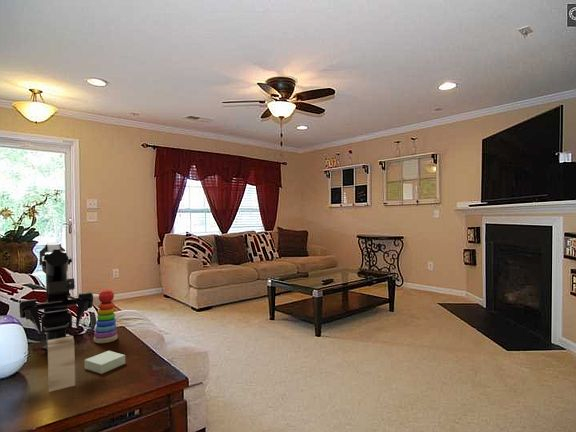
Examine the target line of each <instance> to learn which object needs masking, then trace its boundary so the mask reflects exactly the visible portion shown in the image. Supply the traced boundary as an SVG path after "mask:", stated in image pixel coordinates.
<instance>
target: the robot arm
mask: <svg viewBox="0 0 576 432" xmlns="http://www.w3.org/2000/svg"><path fill="white" fill-rule="evenodd" d="M71 263H73V259H72V257H71V256H70V254H68V252H67V251H66V249H65V248H63V247H62V243H60V242H47V243H45V244H44V247H43V248H42V249H41V250H40V251H39V266H41V271H42V273H44V274H45V287H46V288H45V290H46V292H45V295H46V301H45V302H38V303H37V299H36V298H34V299H25V300H21V301H20V302H19V303H18V304H19V305H18V306H19V318H20V319H21V318H22V319H25V320H30V321H31V323H32V324H33V325H34V327H35V329H36V330H37V333H38V335H39V334H46V345H42V346H41V349H44V350H47V351H48V340H52V339H57V338H63V337H67V332H66V331H67V329H68V330H69V329H71V328H72V327H73V314H72V313H71V311H70V310H69V309H68V307H72V306H77V308H76V309H77V310H76V319H75V321H76V322H75V325H76V326H75V328H79V326H80V321H81V318H82V317H83V315H84V312H86V311H89V309H91V308H93V304H94V295H93V293H92V292H91V291H89V292H82V293H81V292H80V293H78V296H77V297H75V298H70V299H69V297H70V291H73V290H75V288H76V287H75V278H68V270H69V265H70V264H71ZM42 310H43V314H42V315H41V321H40V315H39V311H42Z"/></svg>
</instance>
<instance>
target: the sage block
mask: <svg viewBox="0 0 576 432" xmlns="http://www.w3.org/2000/svg"><path fill="white" fill-rule="evenodd" d="M125 364H126V355H125V354H122V353H118V352H115V351H112V350H107V351H104V352H101V353H99V354H95V355H94V356H90V357H87V358H85V359H84V369H85V370H88V371H91V372H95V373H97V374H100V375H101V374H104V373H107V372H109V371H111V370H114V369H116V368H118V367H120V366H123V365H125Z"/></svg>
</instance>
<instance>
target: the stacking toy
mask: <svg viewBox="0 0 576 432" xmlns="http://www.w3.org/2000/svg"><path fill="white" fill-rule="evenodd" d="M114 298H115V293H114V292H113V291H112V290H111V289H103V290H101V291H100V292H99V294H98V301H99V302H100V303H99V304H98V310H97V316H96V319H97V320H96V322H95V324H96V325H95V328H94V329H95V331H94V332H93V333H94V335H93V336H94V337H93V342H94V343H96V344H108V343H111V342H114V341H116V340H117V339H118V337H119V334H118V333H117V332H118V330H117V323H116V322H117V321H116V318H115V317H116V314H115V309H114V306H115V303H114V302H112V301H113V300H114Z"/></svg>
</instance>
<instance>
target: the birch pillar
mask: <svg viewBox="0 0 576 432" xmlns="http://www.w3.org/2000/svg"><path fill="white" fill-rule="evenodd" d="M75 352H76V351H75V339H74V335H69V336H66V337H63V338H57V339H52V340H48V350H47V372H48V373H47V375H48V379H47V380H48V393H50V392H54V391H58V390H59V391H60V390H62V389H66V388H70V387H71V388H72V387H75V386H76V363H75V362H76V361H75V360H76V358H75Z"/></svg>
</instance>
